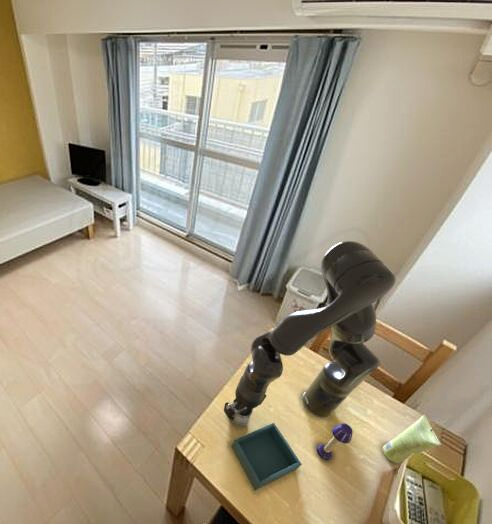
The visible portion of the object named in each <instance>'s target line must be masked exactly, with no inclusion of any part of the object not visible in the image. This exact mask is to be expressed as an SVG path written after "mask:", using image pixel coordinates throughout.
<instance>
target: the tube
mask: <svg viewBox="0 0 492 524" xmlns="http://www.w3.org/2000/svg"><path fill="white" fill-rule="evenodd" d="M440 446H442V443H441V442H440V440H439V439H438V437H437V434H436V433H435V431H434V429H433V427H432V425H431V424H430V422H429V420H428V418H427V417H426V415H425V414H423V415H421V417H420V418H419V419H417V420H416V421H415V422H414V423H413V424H411V425H410V426H409V427H407V428H406V429H405V430H404V431H402V432H401V433H400V434H398V435H397V436H395V437H394V438H393V439H392V440H390V441H388V442H387V443H386V444H384V445H383V447H382V452H383V455H384V456H385V457H386V458H387V459H388V460H389V461H390V462H392V463H396V464H399V463H401V462H403V461H405V460H408V459H409V458H408V457H409V456H410V455H411V454H412V453H415V454H416V455H418V454H421V453H424V452H425V451H428V450H431V449H433V448H437V447H440ZM407 458H408V459H407Z"/></svg>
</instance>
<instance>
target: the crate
mask: <svg viewBox="0 0 492 524" xmlns="http://www.w3.org/2000/svg"><path fill="white" fill-rule="evenodd" d="M230 448H231V449H232V451H233V453H234V455H235V458H236V459H237V460H238V461H237V462H238V463H239V465H240V466H241V468H242V470H243V472H244V473H245V476H246V477H247V479H248V481H249V483H250V485H251V487H252V489H253V491H254V492H255V491H259V490H260V489H262V488H264V487H266V486H268V485H270V484H272V483H274V482H276V481H278V480H280V479H282V478H284V477H286V476H287V475H290V474H291V473H293V472H295V471H297V470H298V469H299V468H300V467H301V466H302V465H303V464H302V462H301V460H299V458H298V455H296V453H295V452H294V450H293V449H292V447H291V446H290V445H289V443H288V442H287V440H286V439H285V437H284V436H283V434H282V433H281V431H280V429H279V428H278V427H277V425H276V424H275V423H274V422H272V423H269V424H268V425H265V426H262V427H260V428H258V429H257V430H254V431H252V432H249V433H247V434H245V435H243V436H241V437H238V438H235V439H234V440H233V442H232V444H231V445H230Z"/></svg>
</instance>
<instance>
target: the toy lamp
mask: <svg viewBox="0 0 492 524" xmlns="http://www.w3.org/2000/svg"><path fill="white" fill-rule="evenodd" d="M353 431H354V430H353V428H352V427H351V426H350V424H348V423H344V422H343V423H338V424H336V425H334V426H332V428H331V433H332V435H333V437H332V438H331V439H330V440H329V441H328V442H327V443H326V444H318V445H317V446H316V453H317V455H318V456H319V457H320V459H322V460H324V461H330V460H331V459H332V458H333V452H332V450H333V449H334V448H335V447H337V445H338V444H339V443H342V444H349V443H350V442H351V441H352V438H353V433H354V432H353Z"/></svg>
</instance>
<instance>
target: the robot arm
mask: <svg viewBox="0 0 492 524" xmlns="http://www.w3.org/2000/svg"><path fill="white" fill-rule="evenodd" d="M320 271H321V275H322V278H323V282H324V284H325V287H326V293H327V305H325V306H322V307H318V308H310V309H302V310H297V311H294V312H291V313H290V314H288V315H287V316H285V317H284V318H283V319H282V320H281V321H280V322H279V323H278V324H277V325H276V326H275V327H274V328H273V329H272V330H270V331H267V332H265V333H263V334H261V335H259V336H257V337H256V338H254V339H253V341H252V342H251V345H250V353H251V358H252V359H251V360H252V361H250V362H249V363H248V364H247V366H246V367H245V369H244V371H243V374H242V375H241V377H240V379H239V381H238V384H237V386H236V389H235V399H234V400H233V401H232V402H231V403H229V402H225V403H224V406H223V412H224V414H225V416H226V417H227V419H229V420H230V421H231V422H232V420H234V418H235V415H236V414H239V413H241V412H242V411H243V410H244V409H246V408H252V411H254V409H255V408H258V407H259V406H261V405H262V403H263V402H264V401H265V399H267V394H266V393H267V391H268V387H269V386H270V384H271V383H273V382H274V381H276V380H277V379H279V378H281V376H282V375H283V371H284V364H283V360H282V356H281V355H283V356H286V357H291V356H293V355H295V354H296V353H297V352H299V351H300V350H301V349H303V348H304V347H305V346H306V345H308V344H309V343H310V342H311V341H312V340H313V339H314V338H316V337H317V336H319V335H320V334H323V332H325V331H326V330H327V331H328V330H329V329H330V337H329V338H330V339H329V345H328V353H329V356H330V357H331V359H332V360H333V361H330V362H327V363H326V364H324V365H323V367H322V369H321V370H320V372H319V373H318V374H317V376H316V377H315V378H314V380H313V381H312V383H311V384H310V385H309V387H308V388H307V389H306V391H305V392H304V393H303V394H302V397H301V401H302V405H303V407H304V408H305V410H306V411H307V412H308V413H309V414H310V415H312V416H314V417H316V418H319V419H327V418H329V417H330V416H331V415H332V414H333V413H334V412H335V411H336V410H337V408H338V407H339V406H340V405H341V404H342V403H343V402H344V401H345V400H346V399H347V397H348V396H349V395H351V393H352V392H353V391H354V390H355V389H356V388H357V387H358V386H360V385H361V384H362V383H363V382H364V381H365V380H366V379H367V378H368V377H369V376H371V375H372V374H373V373H374V372H375V371H376V370H377V369H378V368H379V366H380V364H381V361H380V358H379V357H377V355H376V354H374V352H373V351H372V350H370V348H369V347H368V346H367V345H366V344H365V343H366V342H368V341H370V340H371V339H372V338H373V336H374V335H375V332H376V327H377V312H376V309H375V306H374V303H376V302H377V301H379V300H380V299H381V298H383V297H384V296H386V295H387V294H388V293H389V292H390V291H391V290H392V289H393V287H394V286H395V284H396V281H397V279H396V278H397V277H396V275H395V274H394V272H393V271H392V269H390V267H389V266H388V265H387V264H386V263H384V261H382V260H381V259H380V258H379V257H378V256H377V255H376V253H374V252H373V251H372V250H371V249H370V248H369V247H367V246H366V245H365V244H363V243H360V242H358V241H353V240H347V241H341V242H339V243H337V244H335V245H333V246H331V248H329V250H327V251H326V253H325V254H324V255H323V257H322V260H321V262H320ZM238 408H239V409H240V410H239V409H238ZM233 409H234V410H235V412H234V410H233Z"/></svg>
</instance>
